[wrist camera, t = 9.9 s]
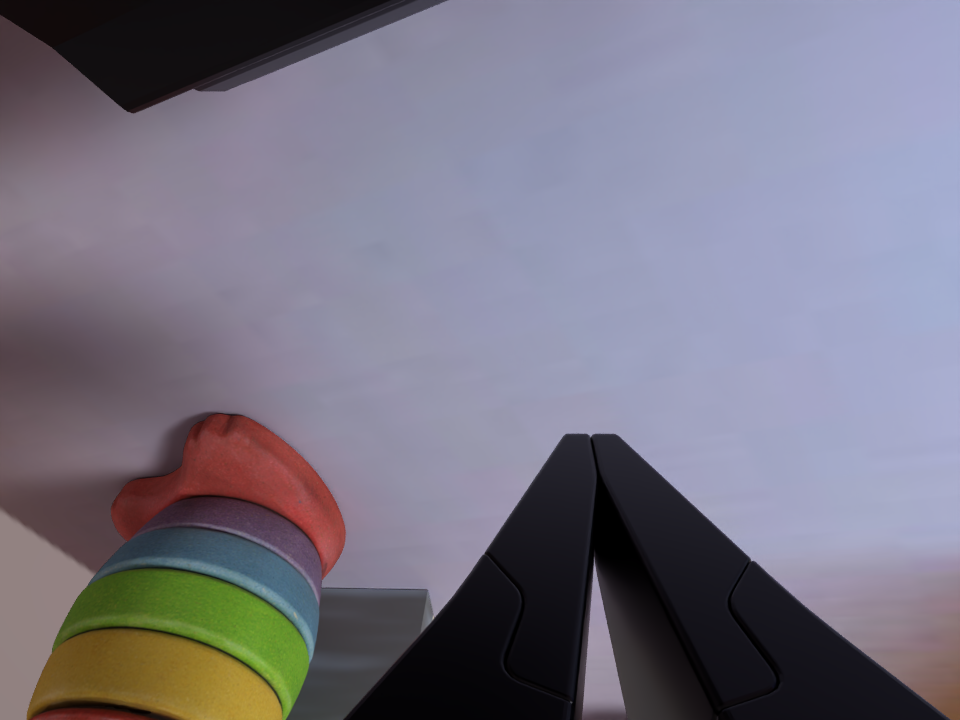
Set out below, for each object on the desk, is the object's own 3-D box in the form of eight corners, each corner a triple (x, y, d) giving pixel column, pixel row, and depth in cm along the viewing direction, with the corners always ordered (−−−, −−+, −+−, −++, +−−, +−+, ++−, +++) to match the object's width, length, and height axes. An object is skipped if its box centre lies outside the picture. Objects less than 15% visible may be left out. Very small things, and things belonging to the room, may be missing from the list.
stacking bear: (228, 393, 26) (-190, 998, 11) (400, 523, 29) (261, 1101, 15) (105, 500, 30) (-303, 1025, 16) (268, 600, 34) (63, 1097, 19)
